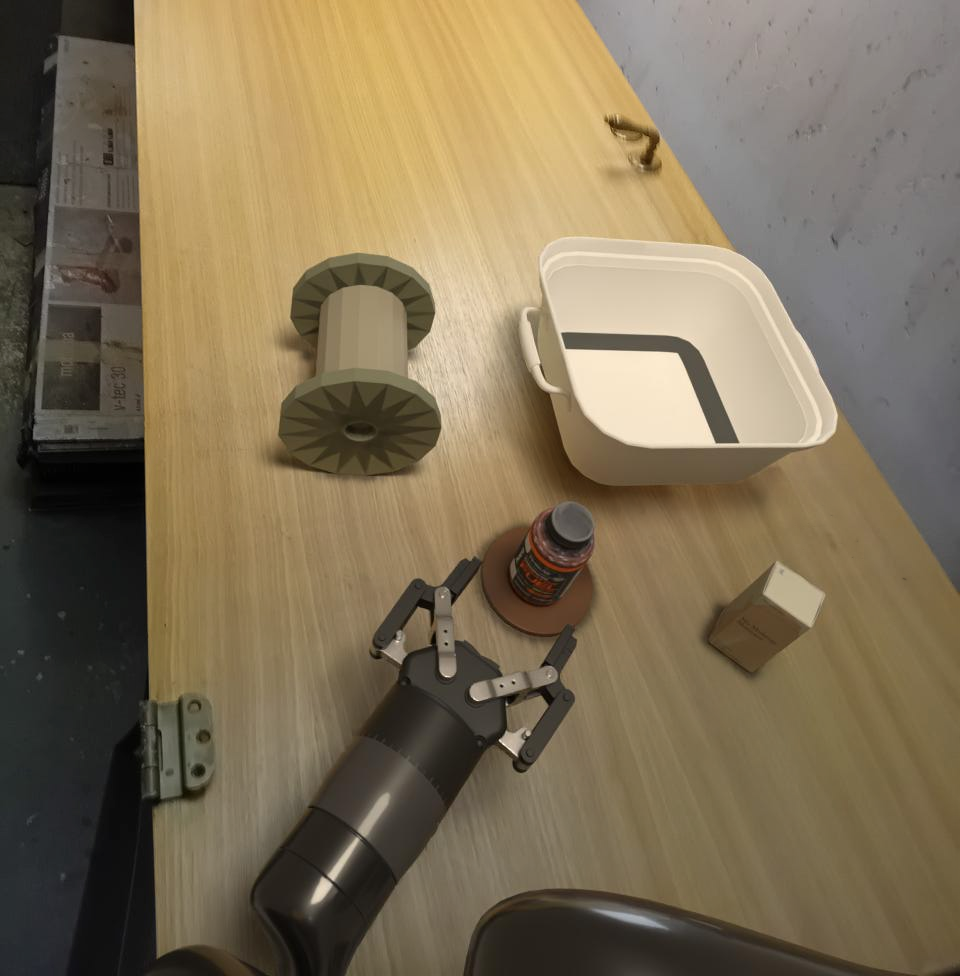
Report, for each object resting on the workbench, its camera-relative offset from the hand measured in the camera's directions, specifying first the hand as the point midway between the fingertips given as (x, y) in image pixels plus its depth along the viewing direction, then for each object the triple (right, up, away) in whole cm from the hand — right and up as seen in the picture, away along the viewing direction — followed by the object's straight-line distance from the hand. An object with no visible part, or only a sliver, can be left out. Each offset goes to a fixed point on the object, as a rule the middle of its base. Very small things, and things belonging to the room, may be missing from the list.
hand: (521, 596), depth 65 cm
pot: (+15, +10, +34) cm, 39 cm away
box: (+22, -10, +18) cm, 30 cm away
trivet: (+2, -4, +17) cm, 18 cm away
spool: (-17, +12, +26) cm, 33 cm away
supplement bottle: (+2, -4, +17) cm, 17 cm away
